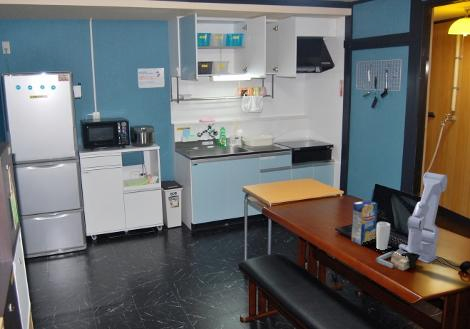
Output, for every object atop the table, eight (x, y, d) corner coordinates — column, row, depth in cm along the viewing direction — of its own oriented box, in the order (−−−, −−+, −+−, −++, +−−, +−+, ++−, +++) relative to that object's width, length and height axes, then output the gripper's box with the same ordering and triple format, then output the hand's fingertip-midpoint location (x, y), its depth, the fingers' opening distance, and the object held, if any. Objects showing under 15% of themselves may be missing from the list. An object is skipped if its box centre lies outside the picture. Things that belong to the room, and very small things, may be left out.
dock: (392, 253, 232) (392, 250, 231) (408, 260, 225) (408, 256, 224) (375, 261, 223) (375, 258, 223) (391, 268, 216) (392, 264, 216)
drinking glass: (385, 247, 239) (387, 221, 235) (390, 253, 232) (392, 226, 229) (373, 248, 239) (374, 221, 235) (377, 253, 232) (379, 226, 229)
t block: (398, 258, 227) (399, 251, 226) (414, 264, 220) (415, 257, 219) (386, 263, 221) (387, 256, 220) (403, 270, 214) (404, 262, 213)
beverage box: (351, 240, 248) (353, 203, 243) (365, 236, 254) (368, 199, 248) (360, 245, 243) (362, 206, 237) (374, 240, 248) (377, 203, 243)
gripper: (396, 237, 215) (394, 263, 219) (424, 247, 204) (421, 274, 207) (404, 234, 220) (402, 259, 223) (432, 243, 208) (429, 270, 212)
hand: (412, 266), depth 215 cm, fingers closed
